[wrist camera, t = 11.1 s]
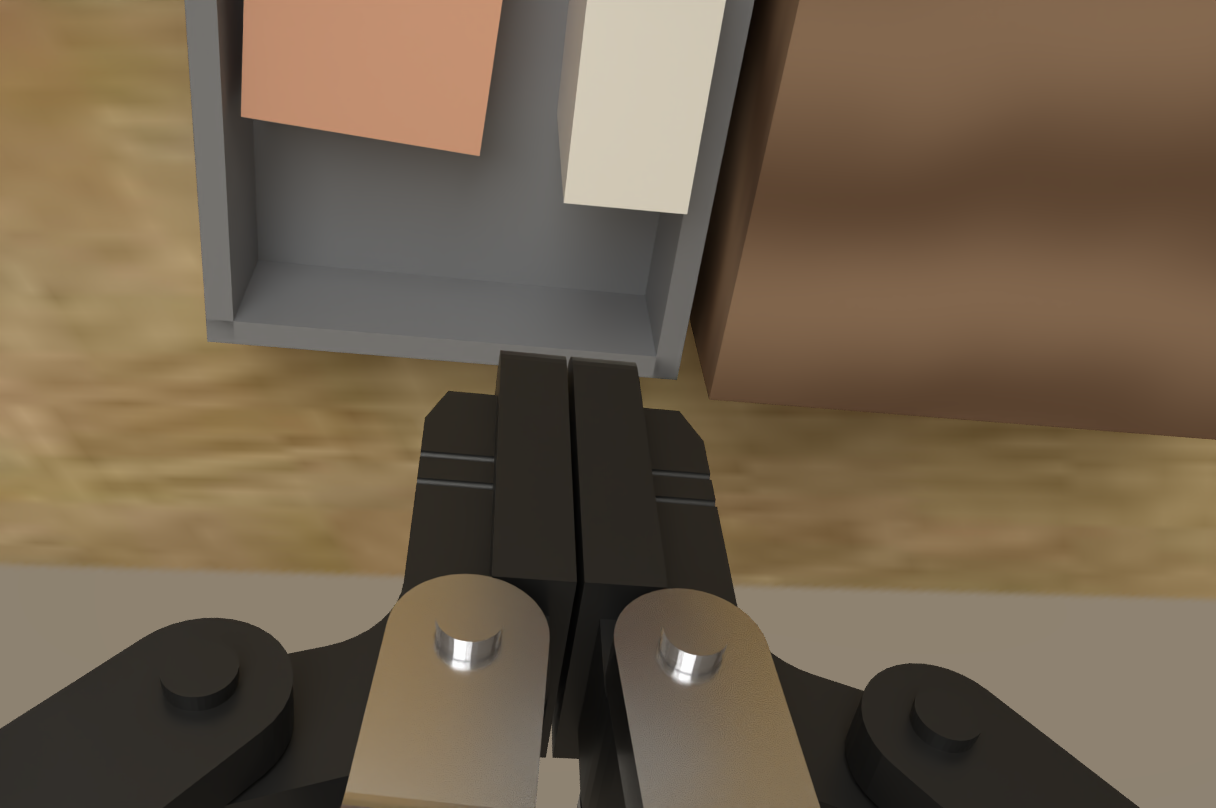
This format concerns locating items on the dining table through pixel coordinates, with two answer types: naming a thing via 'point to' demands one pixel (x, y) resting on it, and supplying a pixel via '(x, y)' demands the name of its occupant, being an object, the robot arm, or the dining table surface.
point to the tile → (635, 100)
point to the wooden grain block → (970, 214)
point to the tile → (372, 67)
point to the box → (441, 220)
